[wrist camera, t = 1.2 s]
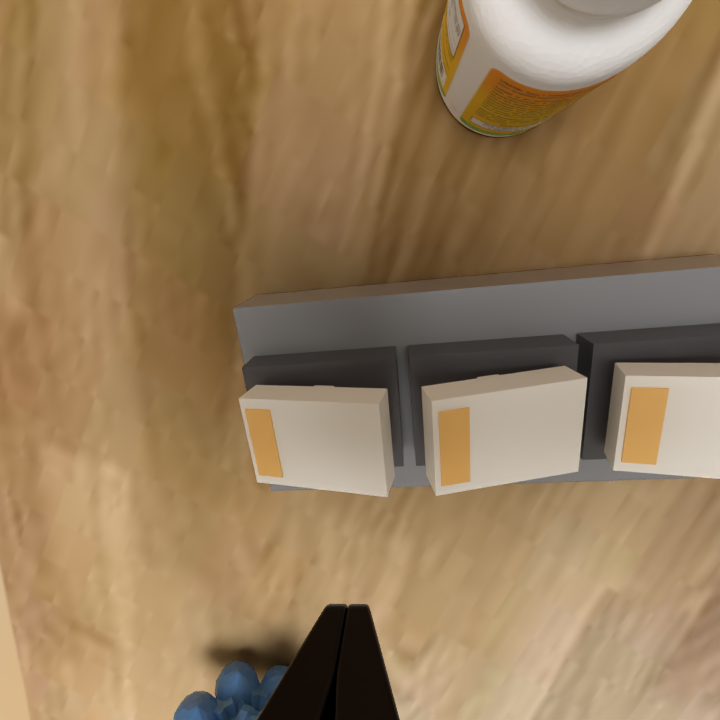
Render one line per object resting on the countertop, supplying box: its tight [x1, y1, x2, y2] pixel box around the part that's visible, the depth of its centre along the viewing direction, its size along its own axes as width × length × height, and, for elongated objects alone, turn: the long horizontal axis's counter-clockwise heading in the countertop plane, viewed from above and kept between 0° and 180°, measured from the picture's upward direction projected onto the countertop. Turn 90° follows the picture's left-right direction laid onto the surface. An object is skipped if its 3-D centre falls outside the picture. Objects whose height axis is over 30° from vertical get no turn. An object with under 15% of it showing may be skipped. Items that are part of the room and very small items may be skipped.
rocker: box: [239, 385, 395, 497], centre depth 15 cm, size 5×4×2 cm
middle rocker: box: [421, 366, 587, 496], centre depth 14 cm, size 5×4×2 cm
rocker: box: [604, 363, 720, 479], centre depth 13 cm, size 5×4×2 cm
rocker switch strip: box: [233, 254, 720, 491], centre depth 17 cm, size 20×9×4 cm, turn 96°
